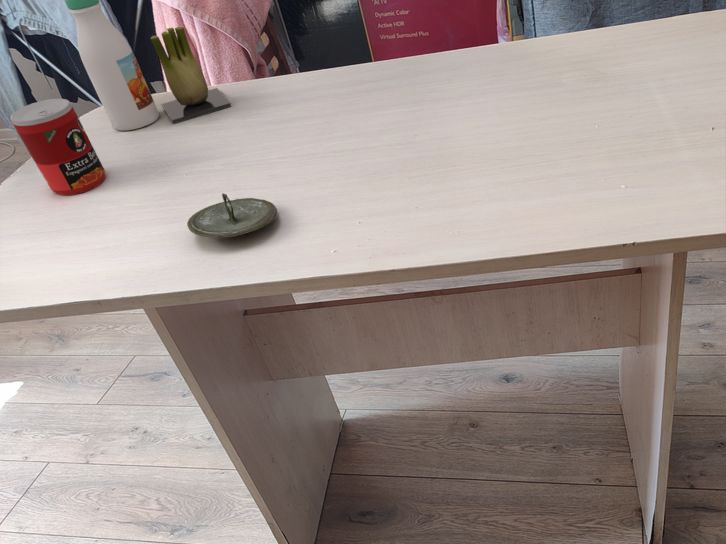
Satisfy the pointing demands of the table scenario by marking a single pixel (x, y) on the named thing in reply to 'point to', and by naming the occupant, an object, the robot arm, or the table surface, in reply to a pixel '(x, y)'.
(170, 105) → the coaster
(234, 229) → the lid
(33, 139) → the canned food
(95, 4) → the milk bottle
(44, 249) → the table surface
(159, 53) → the fennel bulb
